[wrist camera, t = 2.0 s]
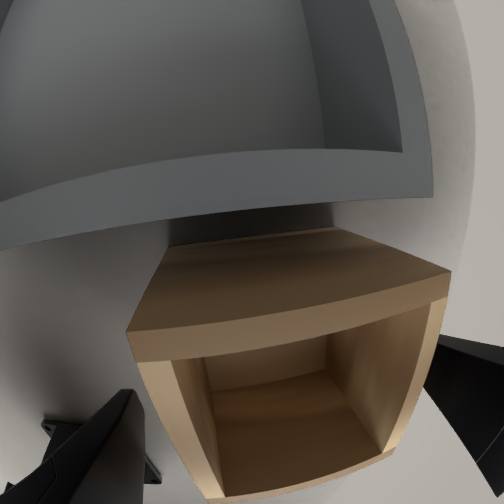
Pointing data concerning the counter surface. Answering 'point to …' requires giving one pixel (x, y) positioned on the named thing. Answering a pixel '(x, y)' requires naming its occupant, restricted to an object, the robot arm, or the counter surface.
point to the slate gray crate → (201, 110)
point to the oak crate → (286, 355)
